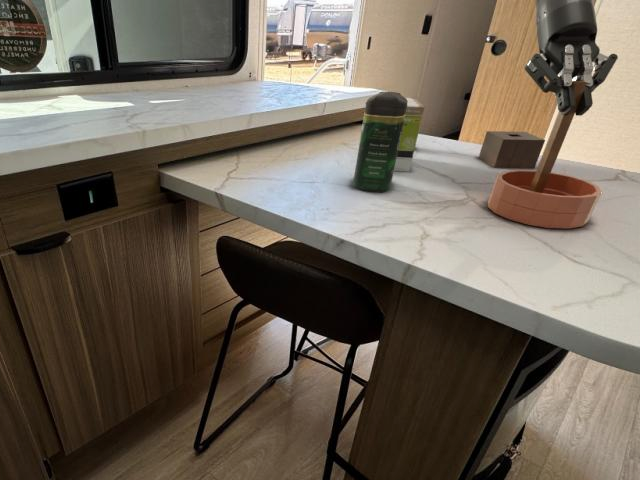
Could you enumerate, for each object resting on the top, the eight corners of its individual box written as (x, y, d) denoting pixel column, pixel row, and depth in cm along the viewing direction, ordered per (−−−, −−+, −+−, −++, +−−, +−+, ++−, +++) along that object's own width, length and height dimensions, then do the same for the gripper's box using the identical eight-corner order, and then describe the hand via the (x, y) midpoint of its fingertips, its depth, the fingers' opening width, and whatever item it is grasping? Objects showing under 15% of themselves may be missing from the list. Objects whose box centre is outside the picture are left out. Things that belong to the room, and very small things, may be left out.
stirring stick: (532, 203, 76) (581, 80, 65) (537, 206, 75) (587, 81, 64) (523, 202, 76) (570, 80, 65) (528, 205, 75) (576, 81, 64)
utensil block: (515, 159, 109) (525, 131, 105) (533, 170, 101) (545, 140, 97) (477, 159, 109) (486, 131, 106) (493, 169, 101) (503, 139, 98)
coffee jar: (388, 196, 85) (409, 96, 75) (349, 191, 88) (364, 94, 77) (392, 182, 93) (411, 90, 82) (356, 178, 95) (370, 88, 85)
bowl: (554, 201, 83) (567, 171, 79) (606, 233, 70) (624, 198, 66) (473, 199, 84) (483, 169, 80) (509, 230, 71) (522, 196, 67)
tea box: (410, 173, 98) (426, 105, 90) (367, 171, 100) (378, 104, 92) (402, 157, 111) (415, 96, 103) (364, 155, 112) (373, 95, 104)
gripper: (535, -1, 65) (546, 95, 62) (627, -2, 64) (643, 96, 61) (508, 38, 73) (516, 126, 69) (590, 38, 72) (603, 127, 68)
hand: (576, 112), depth 65 cm, fingers closed on stirring stick, 1 cm apart
